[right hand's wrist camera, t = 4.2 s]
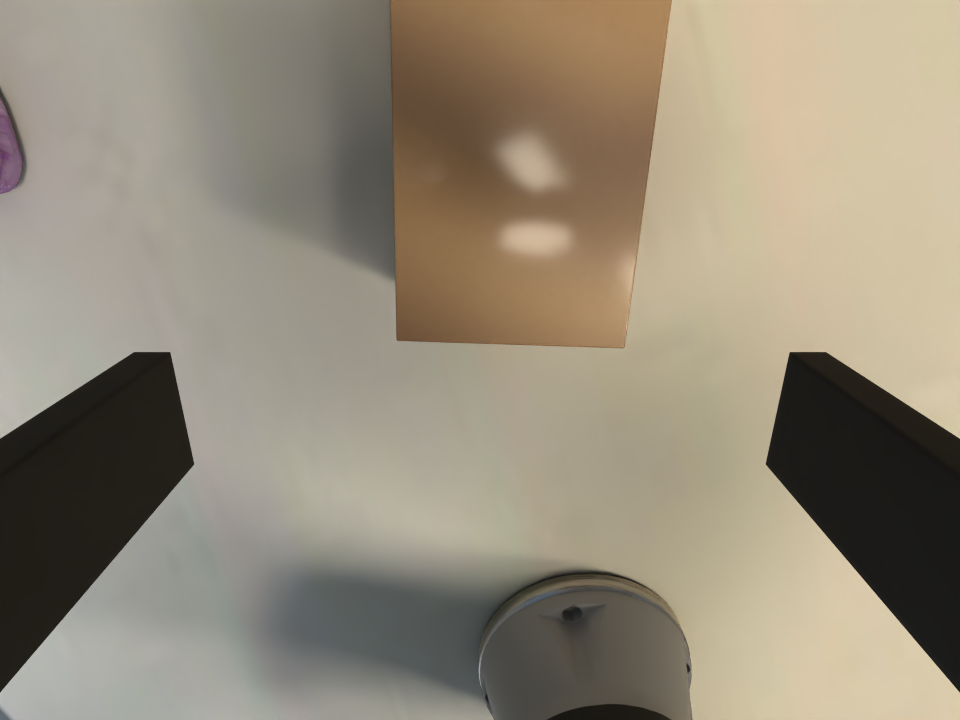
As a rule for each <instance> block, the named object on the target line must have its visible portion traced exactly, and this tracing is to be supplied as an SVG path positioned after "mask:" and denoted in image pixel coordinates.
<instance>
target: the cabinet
mask: <svg viewBox="0 0 960 720" xmlns="http://www.w3.org/2000/svg"><path fill="white" fill-rule="evenodd" d="M671 1H672V0H390V29H391V80H392V130H393V181H394V232H395V282H396V333H397V341H418V342H449V343H480V344H510V345H541V346H572V347H603V348H624V347H625V340H626V333H627V325H628V318H629V311H630V303H631V296H632V289H633V281H634V274H635V267H636V259H637V252H638V244H639V237H640V230H641V222H642V215H643V208H644V200H645V193H646V186H647V178H648V171H649V163H650V156H651V149H652V141H653V134H654V127H655V119H656V112H657V105H658V97H659V90H660V82H661V75H662V68H663V60H664V53H665V46H666V38H667V31H668V24H669V16H670V9H671Z"/></svg>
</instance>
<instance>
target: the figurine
mask: <svg viewBox="0 0 960 720" xmlns="http://www.w3.org/2000/svg"><path fill="white" fill-rule="evenodd" d="M22 167H23V157H22V155H21V153H20V149H19V146H18V143H17V139H16V136H15V133H14V130H13V127H12V124H11V121H10V118H9V115H8V112H7V109H6V107H5V105H4V103H3V101H2V99H1V97H0V194H1V193H5V192H9V191H10V190H12V189H13V188H15V186H16V185H17V184H18V182H19V180H20V175H21V171H22Z"/></svg>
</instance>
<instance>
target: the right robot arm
mask: <svg viewBox="0 0 960 720" xmlns="http://www.w3.org/2000/svg"><path fill="white" fill-rule="evenodd" d="M193 465H194V461H193V456H192V452H191V447H190V442H189V438H188V433H187V428H186V424H185V419H184V414H183V410H182V405H181V400H180V396H179V391H178V386H177V382H176V377H175V372H174V368H173V363H172V358H171V354H170V352H134V353H132V354H131V355H129V356H128V357H126V358H124V359H123V360H121V361H120V362H118V363H117V364H115V365H114V366H112V367H111V368H109V369H107V370H106V371H104V372H103V373H101V374H100V375H98V376H97V377H95V378H94V379H92V380H90V381H89V382H87V383H86V384H84V385H83V386H81V387H80V388H78V389H77V390H75V391H73V392H72V393H70V394H69V395H67V396H66V397H64V398H63V399H61V400H60V401H58V402H56V403H55V404H53V405H52V406H50V407H49V408H47V409H46V410H44V411H43V412H41V413H39V414H38V415H36V416H35V417H33V418H32V419H30V420H29V421H27V422H26V423H24V424H22V425H21V426H19V427H18V428H16V429H15V430H13V431H12V432H10V433H9V434H7V435H5V436H4V437H2V438H1V439H0V692H1V691H2V690H3V688H4V687H5V686H6V685H7V684H8V683H9V681H10V680H11V679H12V678H13V677H14V675H15V674H16V673H17V672H18V671H19V670H20V668H21V667H22V666H23V665H24V664H25V663H26V661H27V660H28V659H29V658H30V657H31V656H32V654H33V653H34V652H35V651H36V650H37V648H38V647H39V646H40V645H41V644H42V643H43V641H44V640H45V639H46V638H47V637H48V636H49V634H50V633H51V632H52V631H53V630H54V628H55V627H56V626H57V625H58V624H59V623H60V621H61V620H62V619H63V618H64V617H65V616H66V614H67V613H68V612H69V611H70V610H71V608H72V607H73V606H74V605H75V604H76V603H77V601H78V600H79V599H80V598H81V597H82V596H83V594H84V593H85V592H86V591H87V590H88V589H89V587H90V586H91V585H92V584H93V583H94V581H95V580H96V579H97V578H98V577H99V576H100V574H101V573H102V572H103V571H104V570H105V569H106V567H107V566H108V565H109V564H110V563H111V561H112V560H113V559H114V558H115V557H116V556H117V554H118V553H119V552H120V551H121V550H122V549H123V547H124V546H125V545H126V544H127V543H128V542H129V540H130V539H131V538H132V537H133V536H134V534H135V533H136V532H137V531H138V530H139V529H140V527H141V526H142V525H143V524H144V523H145V522H146V520H147V519H148V518H149V517H150V516H151V514H152V513H153V512H154V511H155V510H156V509H157V507H158V506H159V505H160V504H161V503H162V502H163V500H164V499H165V498H166V497H167V496H168V494H169V493H170V492H171V491H172V490H173V489H174V487H175V486H176V485H177V484H178V483H179V482H180V480H181V479H182V478H183V477H184V476H185V475H186V473H187V472H188V471H189V470H190V469H191V467H192V466H193ZM766 465H767V466H768V467H769V469H770V470H771V471H772V472H773V473H774V475H775V476H776V477H777V478H778V479H779V480H780V482H781V483H782V484H783V485H784V486H785V487H786V489H787V490H788V491H789V492H790V493H791V494H792V496H793V497H794V498H795V499H796V500H797V502H798V503H799V504H800V505H801V506H802V507H803V509H804V510H805V511H806V512H807V513H808V514H809V516H810V517H811V518H812V519H813V520H814V522H815V523H816V524H817V525H818V526H819V527H820V529H821V530H822V531H823V532H824V533H825V534H826V536H827V537H828V538H829V539H830V540H831V542H832V543H833V544H834V545H835V546H836V547H837V549H838V550H839V551H840V552H841V553H842V554H843V556H844V557H845V558H846V559H847V560H848V561H849V563H850V564H851V565H852V566H853V567H854V569H855V570H856V571H857V572H858V573H859V574H860V576H861V577H862V578H863V579H864V580H865V581H866V583H867V584H868V585H869V586H870V587H871V589H872V590H873V591H874V592H875V593H876V594H877V596H878V597H879V598H880V599H881V600H882V601H883V603H884V604H885V605H886V606H887V607H888V608H889V610H890V611H891V612H892V613H893V614H894V616H895V617H896V618H897V619H898V620H899V621H900V623H901V624H902V625H903V626H904V627H905V628H906V630H907V631H908V632H909V633H910V634H911V636H912V637H913V638H914V639H915V640H916V641H917V643H918V644H919V645H920V646H921V647H922V648H923V650H924V651H925V652H926V653H927V654H928V656H929V657H930V658H931V659H932V660H933V661H934V663H935V664H936V665H937V666H938V667H939V668H940V670H941V671H942V672H943V673H944V674H945V675H946V677H947V678H948V679H949V680H950V681H951V683H952V684H953V685H954V686H955V687H956V688H957V690H958V691H959V692H960V439H959V438H958V437H956V436H955V435H953V434H951V433H950V432H948V431H947V430H945V429H944V428H942V427H941V426H939V425H938V424H936V423H934V422H933V421H931V420H930V419H928V418H927V417H925V416H924V415H922V414H921V413H919V412H917V411H916V410H914V409H913V408H911V407H910V406H908V405H907V404H905V403H904V402H902V401H900V400H899V399H897V398H896V397H894V396H893V395H891V394H890V393H888V392H887V391H885V390H883V389H882V388H880V387H879V386H877V385H876V384H874V383H873V382H871V381H870V380H868V379H866V378H865V377H863V376H862V375H860V374H859V373H857V372H856V371H854V370H853V369H851V368H849V367H848V366H846V365H845V364H843V363H842V362H840V361H839V360H837V359H836V358H834V357H832V356H831V355H829V354H828V353H826V352H790V354H789V358H788V363H787V368H786V372H785V377H784V382H783V386H782V391H781V396H780V400H779V405H778V410H777V414H776V419H775V424H774V428H773V433H772V438H771V442H770V447H769V452H768V456H767V461H766ZM479 680H480V685H481V689H482V693H483V697H484V699H485V702H486V705H487V707H488V709H489V711H490V713H491V714H492V716H493V718H494V720H692V710H691V702H690V694H689V688H690V684H691V659H690V653H689V648H688V644H687V641H686V639H685V636H684V634H683V631H682V629H681V626H680V624H679V622H678V620H677V618H676V616H675V614H674V613H673V611H672V610H671V608H670V607H669V606H668V605H667V604H666V603H665V602H664V601H663V600H662V599H661V598H660V597H659V596H657V595H656V594H655V593H653V592H652V591H650V590H649V589H647V588H645V587H643V586H641V585H639V584H637V583H634V582H632V581H629V580H626V579H622V578H619V577H614V576H609V575H601V574H574V575H566V576H561V577H556V578H552V579H549V580H545V581H542V582H540V583H537V584H535V585H532V586H530V587H528V588H526V589H524V590H523V591H521V592H519V593H517V594H516V595H515V596H513V597H512V598H510V599H509V600H508V601H507V602H505V603H504V604H503V605H502V606H501V607H500V608H499V609H498V610H497V611H496V612H495V614H494V615H493V616H492V618H491V619H490V620H489V622H488V624H487V625H486V627H485V630H484V632H483V634H482V638H481V641H480V646H479Z"/></svg>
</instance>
